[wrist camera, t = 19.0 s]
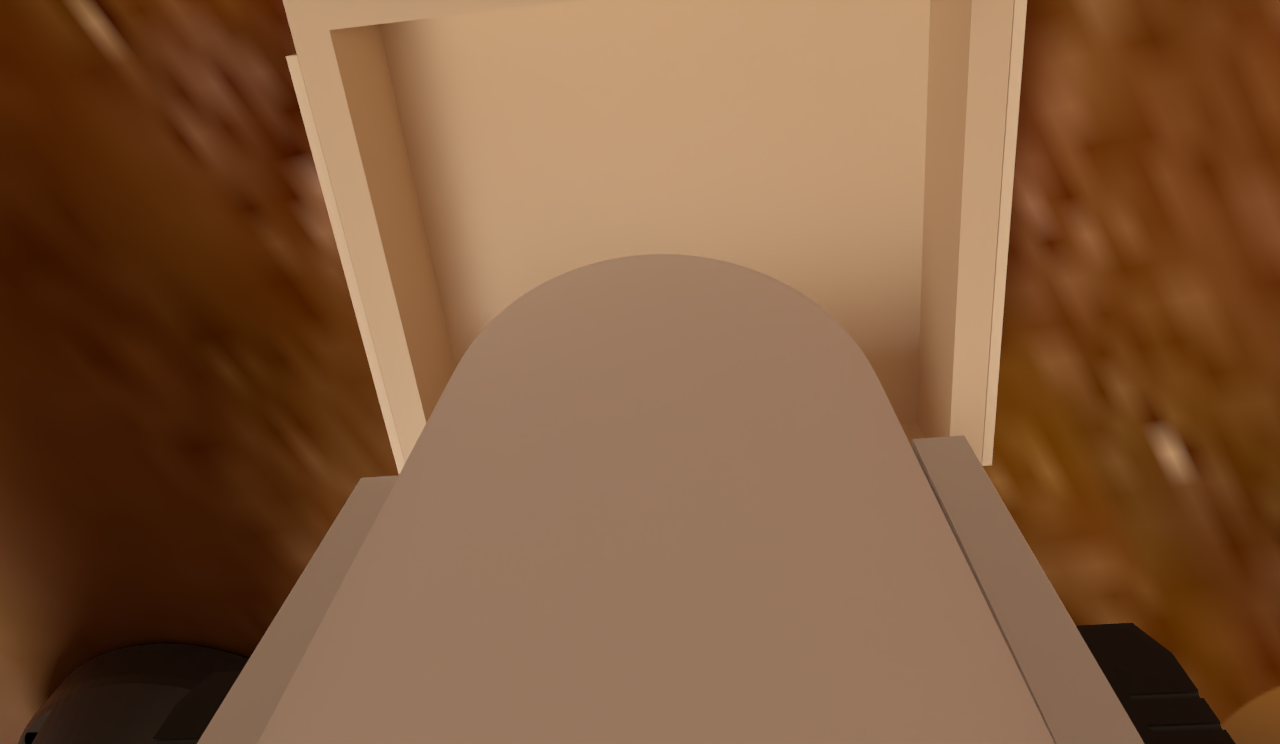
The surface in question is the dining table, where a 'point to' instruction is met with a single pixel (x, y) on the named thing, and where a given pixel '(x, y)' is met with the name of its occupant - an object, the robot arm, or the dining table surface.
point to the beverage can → (660, 542)
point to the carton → (672, 170)
